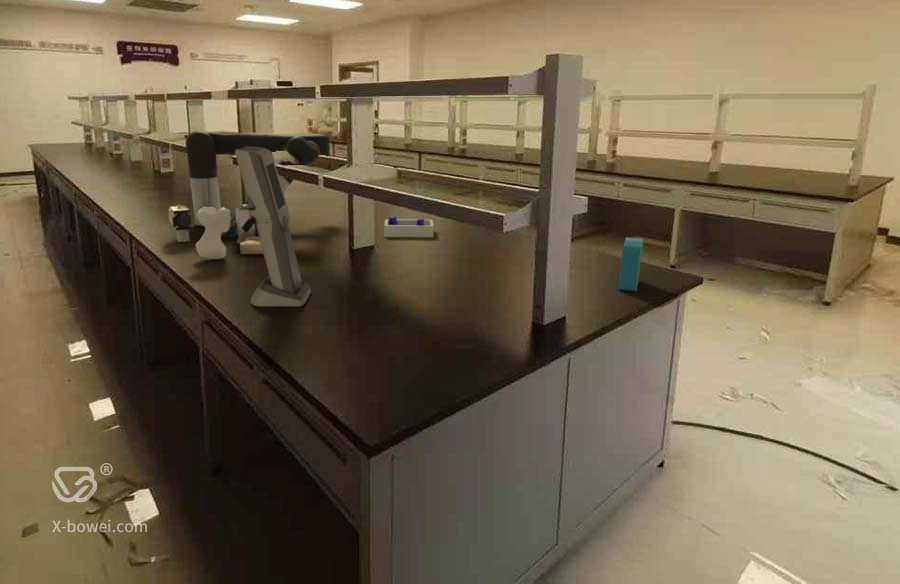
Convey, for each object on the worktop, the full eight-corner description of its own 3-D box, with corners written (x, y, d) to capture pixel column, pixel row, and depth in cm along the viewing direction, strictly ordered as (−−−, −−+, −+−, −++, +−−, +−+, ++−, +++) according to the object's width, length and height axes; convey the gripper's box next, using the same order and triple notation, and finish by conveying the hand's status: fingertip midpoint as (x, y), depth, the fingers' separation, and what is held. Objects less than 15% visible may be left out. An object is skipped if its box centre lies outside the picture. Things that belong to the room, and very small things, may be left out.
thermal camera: (259, 291, 143) (246, 145, 132) (312, 291, 144) (303, 146, 133) (246, 307, 132) (231, 150, 121) (303, 307, 133) (293, 151, 122)
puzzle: (241, 233, 203) (239, 216, 201) (233, 237, 197) (231, 219, 195) (224, 232, 203) (222, 215, 201) (216, 236, 198) (214, 219, 196)
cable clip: (425, 234, 208) (425, 217, 206) (421, 237, 204) (421, 220, 202) (393, 231, 211) (393, 215, 209) (389, 234, 207) (388, 217, 205)
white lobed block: (190, 261, 167) (184, 209, 162) (219, 252, 177) (213, 203, 172) (217, 265, 164) (211, 212, 159) (244, 256, 174) (239, 206, 169)
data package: (621, 278, 160) (626, 236, 157) (638, 280, 159) (643, 237, 155) (617, 291, 150) (623, 245, 146) (636, 293, 148) (642, 247, 144)
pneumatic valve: (188, 236, 196) (184, 201, 192) (194, 244, 186) (190, 207, 182) (170, 238, 193) (165, 202, 189) (175, 246, 183) (170, 208, 180)
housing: (239, 239, 193) (236, 203, 189) (258, 240, 193) (255, 203, 190) (234, 244, 187) (231, 206, 183) (254, 244, 188) (251, 207, 184)
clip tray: (385, 230, 212) (385, 219, 211) (432, 230, 213) (432, 219, 212) (384, 237, 202) (384, 225, 200) (433, 237, 203) (433, 226, 202)
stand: (249, 245, 186) (248, 236, 185) (281, 246, 186) (280, 236, 185) (240, 253, 176) (239, 243, 175) (274, 253, 177) (273, 243, 176)
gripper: (290, 199, 189) (258, 240, 185) (271, 193, 199) (240, 231, 195) (273, 183, 184) (240, 225, 180) (254, 178, 194) (222, 218, 190)
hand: (240, 228), depth 188 cm, fingers closed on housing, 5 cm apart
